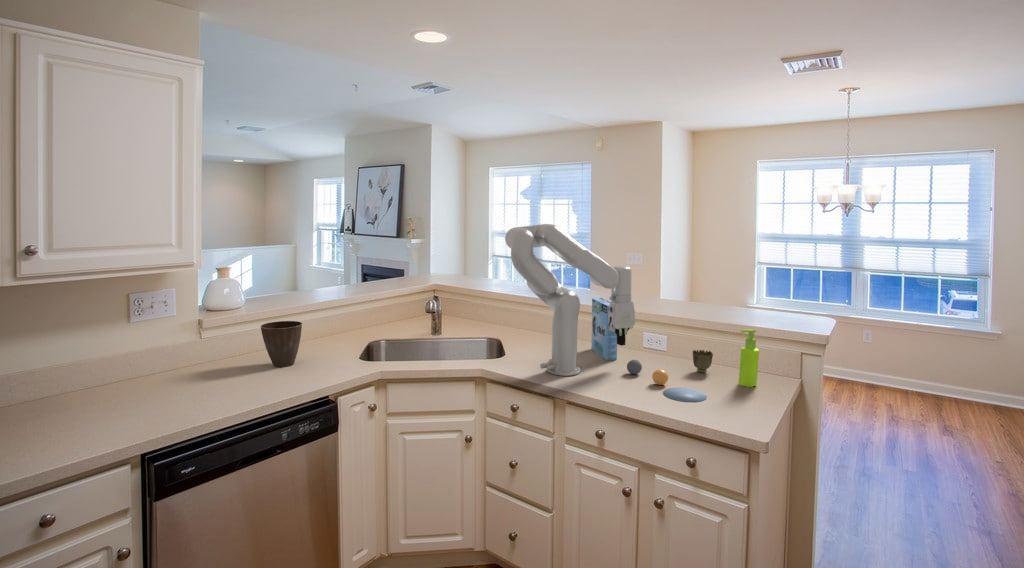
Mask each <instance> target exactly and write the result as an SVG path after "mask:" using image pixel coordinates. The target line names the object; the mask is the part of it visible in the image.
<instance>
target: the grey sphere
mask: <svg viewBox="0 0 1024 568" xmlns="http://www.w3.org/2000/svg"><path fill="white" fill-rule="evenodd" d="M642 366H643V365H642V363H641V362H640V361H639V360H637V359H630V360H629V361H628V362H627V365H626V369H627V371H628V372H629V373H630V374H631V375H638V374H640V373H641V372H642V369H643V367H642Z"/></svg>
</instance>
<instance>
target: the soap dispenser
mask: <svg viewBox="0 0 1024 568" xmlns="http://www.w3.org/2000/svg"><path fill="white" fill-rule="evenodd" d="M738 331H739V332H741V334H742V333H743V334H744V333H748V335H747V336H748V337H746V338H745V343H744V346H741V347H740V360H739V361H740V362H739V377H738V384H739V385H740V386H742V387H745V386H747V388H754V387H753V386H756V385H758V372H759V371H758V370H759V360H760V359H759V357H760V349H759V348H757V347H756V346H757V344H756V343H757V339H756V338H755V335H754V334H755V333H757V330H756V329H753V328H752V329H751V328H750V329H749V328H745V329H740V330H738ZM756 387H757V386H756Z"/></svg>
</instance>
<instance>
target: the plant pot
mask: <svg viewBox="0 0 1024 568" xmlns="http://www.w3.org/2000/svg"><path fill="white" fill-rule="evenodd" d="M302 326H303V322H301V321H298V320H297V321H296V320H281V321H280V320H279V321H272V322H267V323H264V324H261V325H260V329H261V330H260V331H261V335H262V340H263V343H264V347H265V349H266V351H267V354H268V356H269V360H270V361H271V363H272V365H273V367H276V368H284V367H290V366H293V365H294V364H295V361H296V359H297V354H298V352H299V347H300V343H301V337H302Z"/></svg>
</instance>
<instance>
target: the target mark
mask: <svg viewBox="0 0 1024 568" xmlns="http://www.w3.org/2000/svg"><path fill="white" fill-rule="evenodd" d="M662 392H663V393H664V394H663V395H664V397H666V396H667V397H666V398H669V399H671V400H674V401H677V402H686V403H698V402H704V401H705V400H706V399H707V398H708V396H707V394H706V393H704V392H703V391H700V390H697V389H694V388H689V387H670V388H666V389H664V390H663V391H662Z"/></svg>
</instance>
